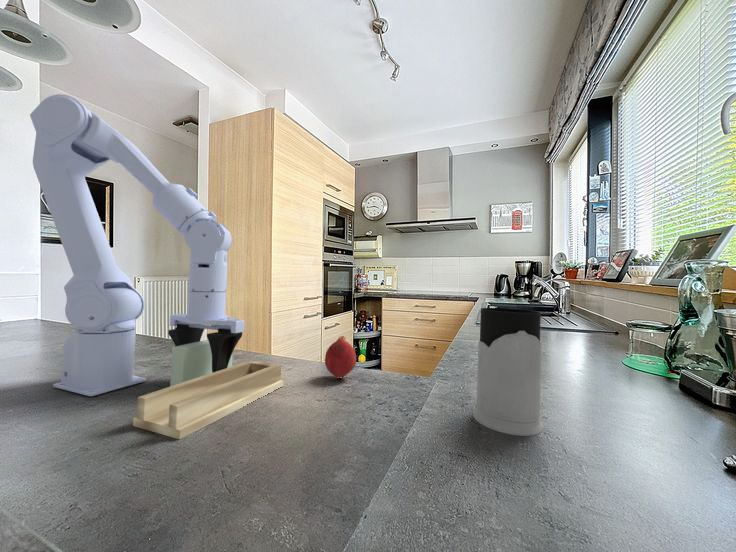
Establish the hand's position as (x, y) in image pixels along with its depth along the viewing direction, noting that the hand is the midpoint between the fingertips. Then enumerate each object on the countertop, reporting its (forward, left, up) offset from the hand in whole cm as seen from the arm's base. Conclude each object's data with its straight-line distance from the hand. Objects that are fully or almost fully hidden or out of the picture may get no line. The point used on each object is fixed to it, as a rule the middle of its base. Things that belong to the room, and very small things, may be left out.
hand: (203, 371), depth 52 cm
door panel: (0, 0, -2) cm, 2 cm away
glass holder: (+46, +9, -2) cm, 48 cm away
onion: (+19, +12, -2) cm, 23 cm away
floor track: (+9, -5, -2) cm, 10 cm away
